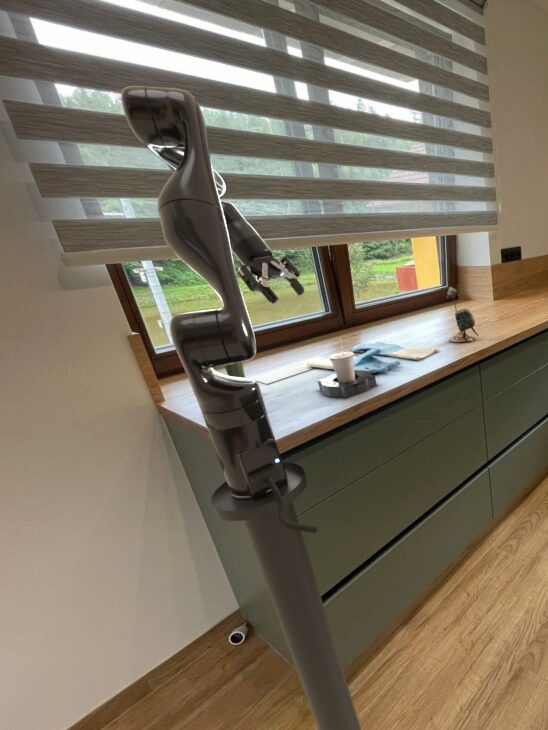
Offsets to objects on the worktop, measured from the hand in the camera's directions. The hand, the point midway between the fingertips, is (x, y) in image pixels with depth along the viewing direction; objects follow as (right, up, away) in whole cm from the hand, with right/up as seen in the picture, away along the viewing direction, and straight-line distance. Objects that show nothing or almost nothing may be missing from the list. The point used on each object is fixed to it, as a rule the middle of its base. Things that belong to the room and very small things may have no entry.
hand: (289, 297), depth 109 cm
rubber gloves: (+11, -14, +34) cm, 38 cm away
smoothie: (+11, -23, +10) cm, 28 cm away
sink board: (+11, -23, +10) cm, 28 cm away
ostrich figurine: (+39, -6, +49) cm, 63 cm away
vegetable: (-13, -18, -1) cm, 22 cm away
